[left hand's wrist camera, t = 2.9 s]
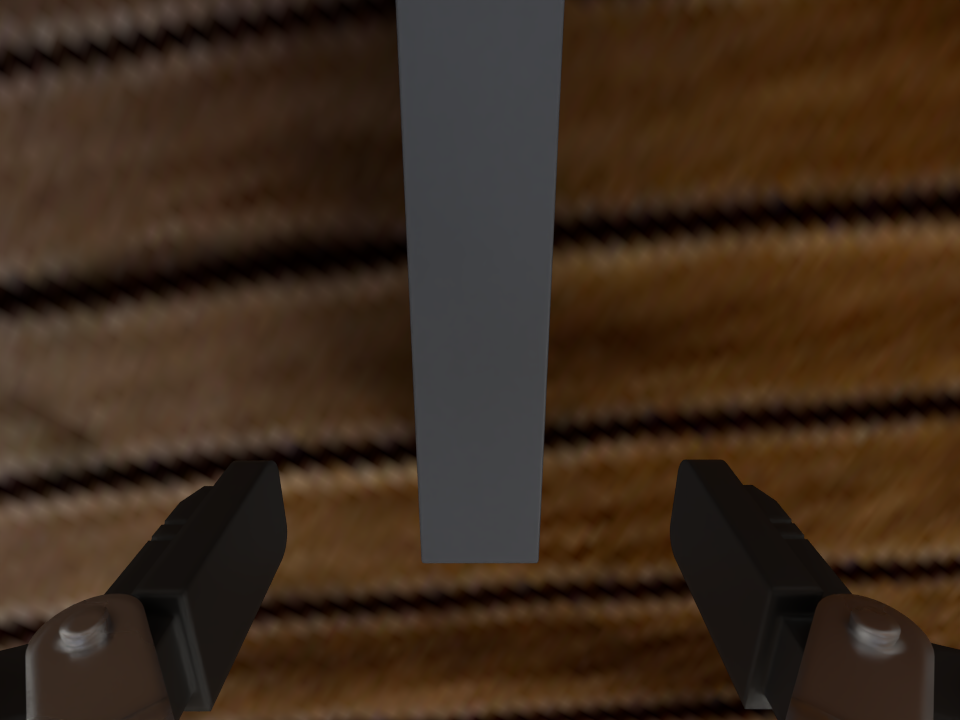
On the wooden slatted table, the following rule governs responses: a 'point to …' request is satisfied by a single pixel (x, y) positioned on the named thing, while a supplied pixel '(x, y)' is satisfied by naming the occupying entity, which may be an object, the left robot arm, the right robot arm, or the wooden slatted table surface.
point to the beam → (479, 264)
